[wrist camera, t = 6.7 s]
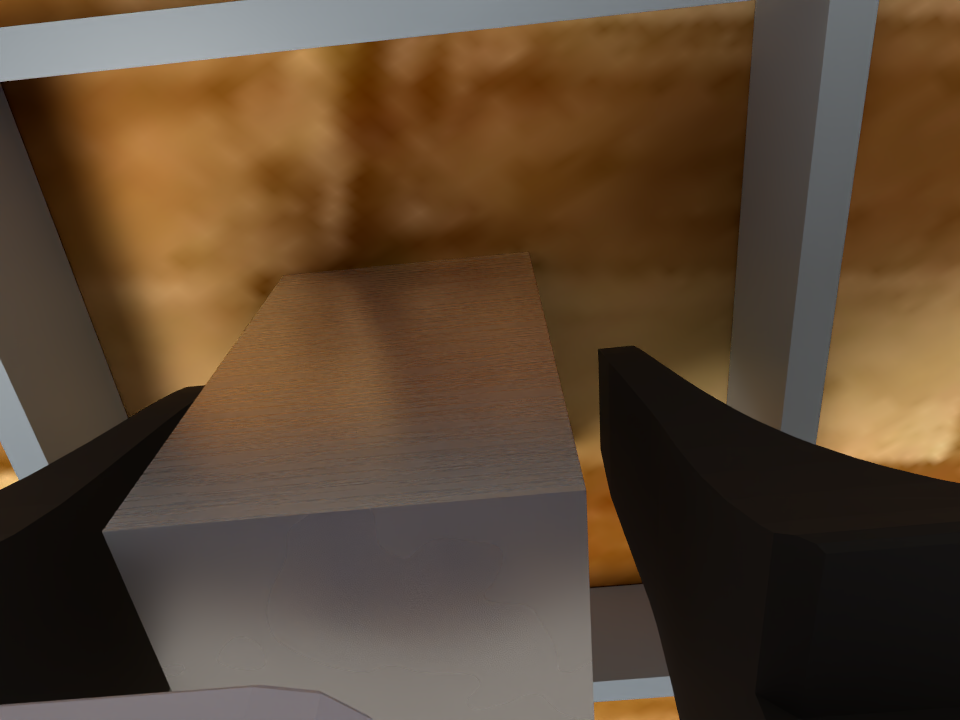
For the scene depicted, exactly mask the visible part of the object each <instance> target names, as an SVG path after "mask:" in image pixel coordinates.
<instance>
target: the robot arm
mask: <svg viewBox="0 0 960 720" xmlns="http://www.w3.org/2000/svg"><path fill="white" fill-rule="evenodd" d="M598 361H599V404H600V446H601V453H602V458H603V463H604V467H605V472H606V477H607V481H608V486H609V490H610V495H611V498H612V501H613V503H614V506H615V509H616V512H617V515H618V517H619V520H620V523H621V526H622V528H623V531H624V534H625V537H626V539H627V542H628V545H629V547H630V550H631V553H632V556H633V558H634V561H635V564H636V566H637V569H638V572H639V575H640V577H641V580H642V583H643V585H644V588H645V591H646V594H647V596H648V599H649V602H650V605H651V608H652V612H653V615H654V618H655V621H656V624H657V628H658V632H659V636H660V640H661V644H662V648H663V652H664V656H665V660H666V664H667V668H668V672H669V676H670V680H671V685H672V689H673V693H674V697H675V701H676V706H677V710H678V714H679V718H680V720H960V483H956V482H950V481H945V480H940V479H935V478H931V477H927V476H922V475H918V474H914V473H910V472H906V471H902V470H897V469H893V468H889V467H885V466H882V465H878V464H875V463H871V462H868V461H864V460H860V459H857V458H854V457H851V456H848V455H845V454H842V453H839V452H836V451H833V450H830V449H827V448H824V447H821V446H818V445H815V444H812V443H810V442H807V441H804V440H802V439H799V438H796V437H794V436H792V435H789V434H787V433H785V432H782V431H780V430H778V429H775V428H773V427H771V426H769V425H766V424H764V423H762V422H760V421H757V420H755V419H753V418H751V417H749V416H747V415H745V414H743V413H741V412H740V411H738V410H736V409H734V408H732V407H730V406H729V405H727V404H725V403H723V402H721V401H719V400H718V399H716V398H714V397H712V396H711V395H709V394H707V393H706V392H704V391H702V390H701V389H699V388H698V387H696V386H694V385H693V384H691V383H690V382H688V381H687V380H685V379H683V378H682V377H680V376H679V375H677V374H676V373H674V372H673V371H671V370H670V369H669V368H667V367H666V366H664V365H663V364H661V363H660V362H658V361H657V360H655V359H654V358H652V357H651V356H650V355H648V354H647V353H645V352H644V351H642V350H640V349H639V348H637V347H635V346H626V347H615V348H604V349H598ZM204 387H205V385H204V386H193V387H186V388H183V389H181V390H178V391H176V392H174V393H172V394H170V395H168V396H166V397H164V398H162V399H160V400H159V401H157V402H155V403H153V404H152V405H150V406H148V407H146V408H145V409H143V410H141V411H140V412H138V413H136V414H135V415H133V416H131V417H130V418H128V419H126V420H125V421H123V422H121V423H120V424H118V425H116V426H115V427H113V428H111V429H110V430H108V431H106V432H105V433H103V434H101V435H100V436H98V437H96V438H95V439H93V440H91V441H90V442H88V443H86V444H84V445H83V446H81V447H79V448H77V449H75V450H74V451H72V452H70V453H68V454H67V455H65V456H63V457H61V458H59V459H58V460H56V461H54V462H52V463H50V464H49V465H47V466H45V467H43V468H42V469H40V470H38V471H36V472H34V473H33V474H31V475H29V476H27V477H25V478H23V479H21V480H19V481H17V482H15V483H13V484H11V485H9V486H7V487H5V488H3V489H1V490H0V720H373V719H372V718H371V717H369V716H368V715H367V714H365V713H363V712H361V711H359V710H357V709H355V708H353V707H351V706H349V705H347V704H345V703H343V702H341V701H339V700H337V699H335V698H333V697H331V696H329V695H327V694H325V693H323V692H321V691H317V690H307V689H297V688H287V687H278V686H268V685H250V686H237V687H224V688H211V689H198V690H185V691H172V692H169V690H170V686H169V683H168V681H167V679H166V677H165V674H164V672H163V670H162V668H161V665H160V663H159V661H158V658H157V656H156V654H155V652H154V649H153V647H152V645H151V642H150V640H149V638H148V636H147V633H146V631H145V629H144V626H143V624H142V622H141V620H140V617H139V615H138V613H137V610H136V608H135V606H134V604H133V601H132V599H131V597H130V594H129V592H128V590H127V588H126V585H125V583H124V581H123V578H122V576H121V574H120V572H119V569H118V567H117V565H116V563H115V560H114V558H113V556H112V553H111V551H110V549H109V547H108V544H107V542H106V540H105V537H104V535H103V533H102V531H103V529H104V528H105V527H106V525H107V524H108V522H109V521H110V520H111V518H112V517H113V515H114V514H115V512H116V511H117V510H118V508H119V507H120V505H121V504H122V503H123V501H124V500H125V498H126V497H127V495H128V494H129V493H130V491H131V490H132V488H133V487H134V486H135V484H136V483H137V481H138V480H139V479H140V477H141V476H142V474H143V473H144V471H145V470H146V469H147V467H148V466H149V464H150V463H151V462H152V460H153V459H154V457H155V456H156V455H157V453H158V452H159V450H160V449H161V447H162V446H163V445H164V443H165V442H166V440H167V439H168V438H169V436H170V435H171V433H172V432H173V430H174V429H175V428H176V426H177V425H178V423H179V422H180V421H181V419H182V418H183V416H184V415H185V414H186V412H187V411H188V409H189V408H190V406H191V405H192V404H193V402H194V401H195V399H196V398H197V397H198V395H199V394H200V392H201V391H202V389H203V388H204Z"/></svg>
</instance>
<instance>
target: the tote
mask: <svg viewBox="0 0 960 720" xmlns="http://www.w3.org/2000/svg"><path fill="white" fill-rule="evenodd" d="M739 1H749V0H243V1H234V2H225V3H216V4H207V5H198V6H189V7H180V8H171V9H162V10H153V11H144V12H135V13H126V14H117V15H108V16H99V17H90V18H81V19H72V20H63V21H54V22H45V23H36V24H27V25H18V26H9V27H0V82H3V81H12V80H22V79H31V78H40V77H49V76H58V75H68V74H77V73H86V72H95V71H104V70H114V69H123V68H132V67H141V66H150V65H160V64H169V63H178V62H187V61H196V60H206V59H215V58H224V57H233V56H242V55H252V54H261V53H270V52H279V51H288V50H298V49H307V48H316V47H325V46H334V45H344V44H353V43H362V42H371V41H380V40H390V39H399V38H408V37H417V36H426V35H436V34H445V33H454V32H463V31H472V30H482V29H491V28H500V27H509V26H518V25H528V24H537V23H546V22H555V21H565V20H574V19H583V18H592V17H601V16H611V15H620V14H629V13H638V12H647V11H657V10H666V9H675V8H684V7H693V6H703V5H712V4H721V3H730V2H739ZM878 4H879V0H756V3H755V17H754V30H753V44H752V58H751V72H750V86H749V100H748V114H747V128H746V142H745V156H744V170H743V184H742V198H741V212H740V226H739V240H738V253H737V267H736V281H735V295H734V309H733V323H732V337H731V351H730V365H729V379H728V393H727V405H729V406H730V407H732V408H734V409H736V410H738V411H740V412H741V413H743V414H745V415H747V416H749V417H751V418H753V419H755V420H757V421H760V422H762V423H764V424H766V425H769V426H771V427H773V428H775V429H778V430H780V431H782V432H785V433H787V434H789V435H792V436H794V437H796V438H799V439H802V440H804V441H807V442H810V443H812V444H815V445H816V438H817V431H818V424H819V417H820V410H821V403H822V396H823V389H824V382H825V375H826V368H827V361H828V354H829V347H830V340H831V333H832V326H833V319H834V312H835V305H836V298H837V291H838V284H839V277H840V270H841V263H842V256H843V249H844V242H845V235H846V228H847V221H848V214H849V207H850V200H851V193H852V186H853V179H854V172H855V165H856V158H857V151H858V144H859V137H860V130H861V123H862V116H863V109H864V102H865V95H866V88H867V81H868V74H869V67H870V60H871V53H872V46H873V39H874V32H875V25H876V18H877V11H878ZM126 419H128V417H127V414H126V411H125V409H124V406H123V404H122V401H121V398H120V396H119V393H118V390H117V388H116V385H115V383H114V380H113V377H112V375H111V372H110V369H109V367H108V364H107V362H106V359H105V356H104V354H103V351H102V348H101V346H100V343H99V341H98V338H97V335H96V333H95V330H94V327H93V325H92V322H91V320H90V317H89V314H88V312H87V309H86V307H85V304H84V301H83V299H82V296H81V293H80V291H79V288H78V286H77V283H76V280H75V278H74V275H73V272H72V270H71V267H70V265H69V262H68V259H67V257H66V254H65V251H64V249H63V246H62V244H61V241H60V238H59V236H58V233H57V230H56V228H55V225H54V223H53V220H52V217H51V215H50V212H49V209H48V207H47V204H46V202H45V199H44V196H43V194H42V191H41V189H40V186H39V183H38V181H37V178H36V175H35V173H34V170H33V168H32V165H31V162H30V160H29V157H28V154H27V152H26V149H25V147H24V144H23V141H22V139H21V136H20V133H19V131H18V128H17V126H16V123H15V120H14V118H13V115H12V112H11V110H10V107H9V105H8V102H7V99H6V97H5V94H4V91H3V89H2V86H1V84H0V442H1V444H2V446H3V448H4V450H5V452H6V454H7V456H8V458H9V460H10V462H11V464H12V467H13V469H14V471H15V473H16V475H17V477H18V479H19V480H21V479H23V478H25V477H27V476H29V475H31V474H33V473H34V472H36V471H38V470H40V469H42V468H43V467H45V466H47V465H49V464H50V463H52V462H54V461H56V460H58V459H59V458H61V457H63V456H65V455H67V454H68V453H70V452H72V451H74V450H75V449H77V448H79V447H81V446H83V445H84V444H86V443H88V442H90V441H91V440H93V439H95V438H96V437H98V436H100V435H101V434H103V433H105V432H106V431H108V430H110V429H111V428H113V427H115V426H116V425H118V424H120V423H121V422H123V421H125V420H126ZM590 616H591V644H592V672H593V700H594V702H602V701H615V700H628V699H641V698H655V697H668V696H674V693H673V689H672V685H671V680H670V676H669V672H668V668H667V664H666V660H665V656H664V652H663V648H662V644H661V640H660V636H659V632H658V628H657V624H656V621H655V618H654V615H653V612H652V608H651V605H650V602H649V599H648V596H647V594H646V591H645V588H644V585H643V584H637V585H625V586H613V587H600V588H590ZM169 692H172V690H171V688H170V690H169Z"/></svg>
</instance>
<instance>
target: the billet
mask: <svg viewBox="0 0 960 720" xmlns="http://www.w3.org/2000/svg"><path fill="white" fill-rule="evenodd" d="M102 533H103V535H104V537H105V540H106V542H107V544H108V547H109V549H110V551H111V553H112V556H113V558H114V560H115V563H116V565H117V567H118V569H119V572H120V574H121V576H122V578H123V581H124V583H125V585H126V588H127V590H128V592H129V594H130V597H131V599H132V601H133V604H134V606H135V608H136V610H137V613H138V615H139V617H140V620H141V622H142V624H143V626H144V629H145V631H146V633H147V636H148V638H149V640H150V642H151V645H152V647H153V649H154V652H155V654H156V656H157V658H158V661H159V663H160V665H161V668H162V670H163V672H164V674H165V677H166V679H167V681H168V683H169V686H170V688H171V690H172V691H185V690H198V689H211V688H224V687H237V686H250V685H268V686H278V687H287V688H297V689H307V690H317V691H321V692H323V693H325V694H327V695H329V696H331V697H333V698H335V699H337V700H339V701H341V702H343V703H345V704H347V705H349V706H351V707H353V708H355V709H357V710H359V711H361V712H363V713H365V714H367V715H368V716H369V717H371V718H372V719H373V720H594V700H593V672H592V644H591V616H590V588H589V560H588V532H587V504H586V488H585V484H584V480H583V475H582V471H581V467H580V463H579V459H578V455H577V450H576V446H575V442H574V438H573V434H572V430H571V425H570V421H569V417H568V413H567V409H566V405H565V400H564V396H563V392H562V388H561V384H560V380H559V375H558V371H557V367H556V363H555V359H554V355H553V350H552V346H551V342H550V338H549V334H548V330H547V325H546V321H545V317H544V313H543V309H542V305H541V300H540V296H539V292H538V288H537V284H536V280H535V275H534V271H533V267H532V263H531V259H530V255H529V252H520V253H509V254H499V255H489V256H478V257H468V258H458V259H448V260H437V261H427V262H417V263H406V264H396V265H386V266H376V267H365V268H355V269H345V270H335V271H324V272H314V273H304V274H293V275H283V276H282V278H281V279H280V281H279V282H278V283H277V285H276V286H275V288H274V289H273V291H272V292H271V293H270V295H269V296H268V298H267V299H266V300H265V302H264V303H263V305H262V306H261V307H260V309H259V310H258V312H257V313H256V315H255V316H254V317H253V319H252V320H251V322H250V323H249V324H248V326H247V327H246V329H245V330H244V332H243V333H242V334H241V336H240V337H239V339H238V340H237V341H236V343H235V344H234V346H233V347H232V348H231V350H230V351H229V353H228V354H227V356H226V357H225V358H224V360H223V361H222V363H221V364H220V365H219V367H218V368H217V370H216V371H215V373H214V374H213V375H212V377H211V378H210V380H209V381H208V382H207V384H206V385H205V387H204V388H203V389H202V391H201V392H200V394H199V395H198V397H197V398H196V399H195V401H194V402H193V404H192V405H191V406H190V408H189V409H188V411H187V412H186V414H185V415H184V416H183V418H182V419H181V421H180V422H179V423H178V425H177V426H176V428H175V429H174V430H173V432H172V433H171V435H170V436H169V438H168V439H167V440H166V442H165V443H164V445H163V446H162V447H161V449H160V450H159V452H158V453H157V455H156V456H155V457H154V459H153V460H152V462H151V463H150V464H149V466H148V467H147V469H146V470H145V471H144V473H143V474H142V476H141V477H140V479H139V480H138V481H137V483H136V484H135V486H134V487H133V488H132V490H131V491H130V493H129V494H128V495H127V497H126V498H125V500H124V501H123V503H122V504H121V505H120V507H119V508H118V510H117V511H116V512H115V514H114V515H113V517H112V518H111V520H110V521H109V522H108V524H107V525H106V527H105V528H104V529H103V531H102Z"/></svg>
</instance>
